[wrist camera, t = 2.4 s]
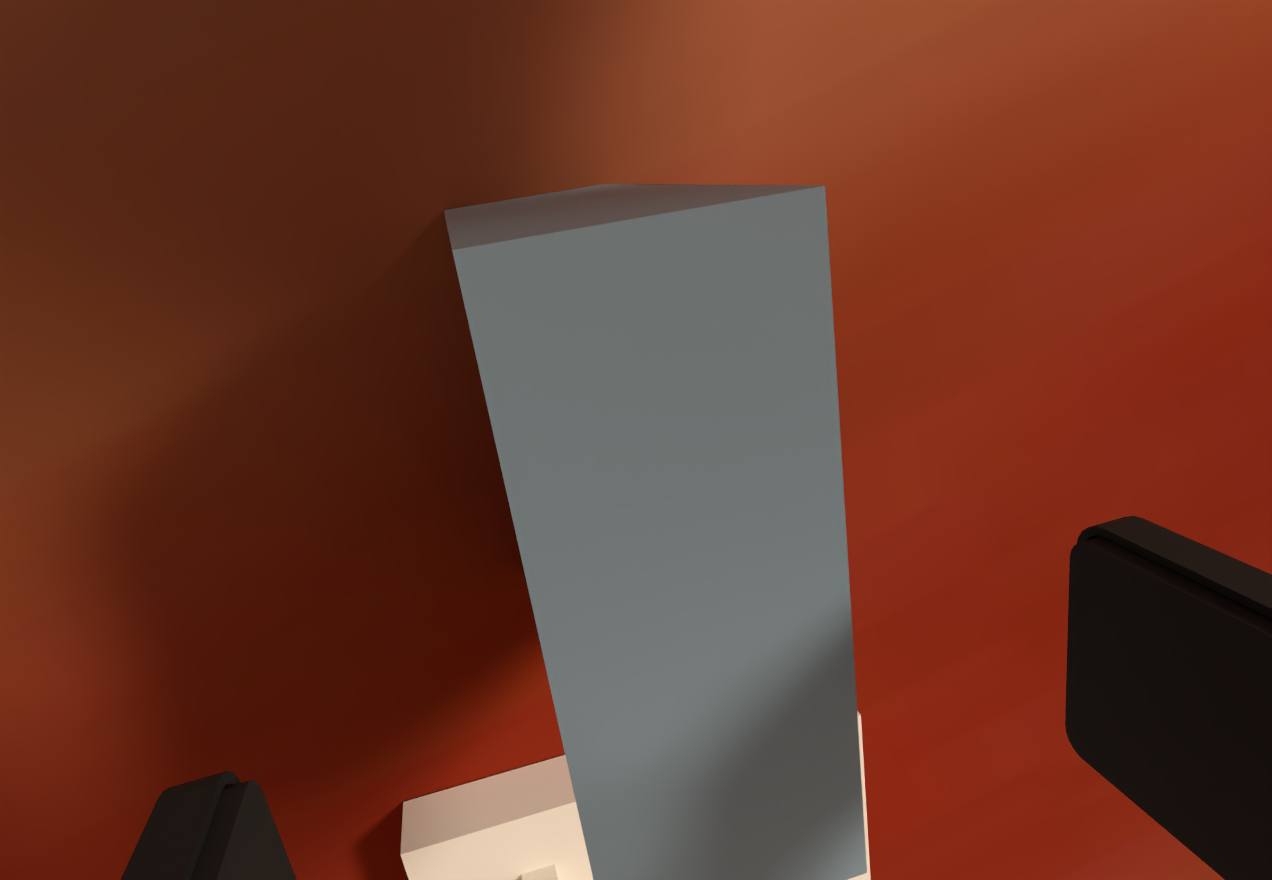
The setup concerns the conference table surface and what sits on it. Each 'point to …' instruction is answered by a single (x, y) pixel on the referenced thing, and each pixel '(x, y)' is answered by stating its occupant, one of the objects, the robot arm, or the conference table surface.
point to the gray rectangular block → (679, 515)
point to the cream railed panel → (510, 828)
